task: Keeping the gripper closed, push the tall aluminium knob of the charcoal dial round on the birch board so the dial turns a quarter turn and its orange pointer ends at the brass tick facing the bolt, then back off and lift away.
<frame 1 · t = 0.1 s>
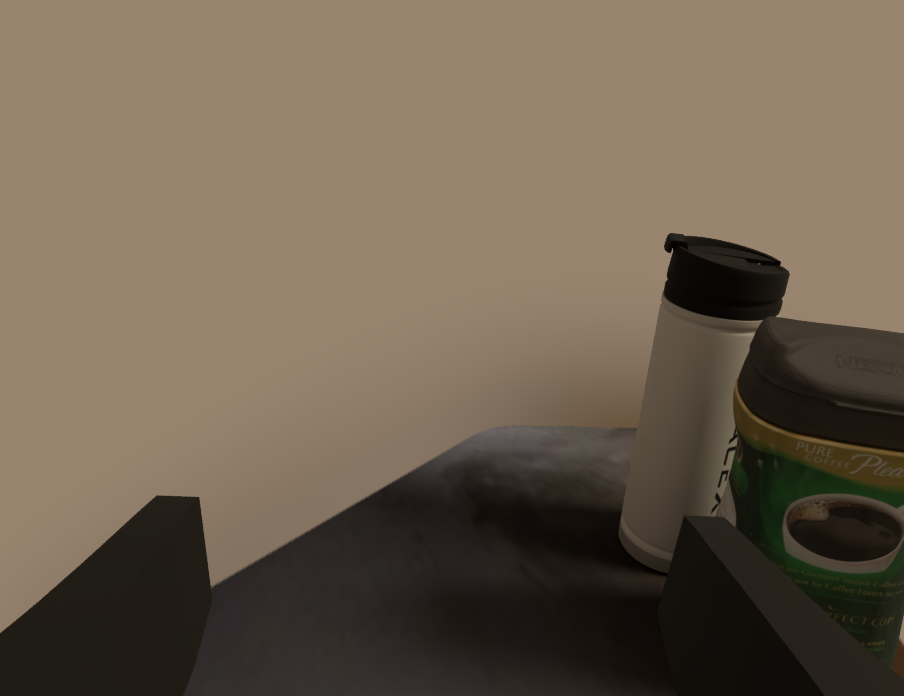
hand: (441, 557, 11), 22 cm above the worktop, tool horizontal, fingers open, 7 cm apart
travel mug: (663, 546, 46), on the worktop
coffee jar: (770, 658, 37), on the worktop
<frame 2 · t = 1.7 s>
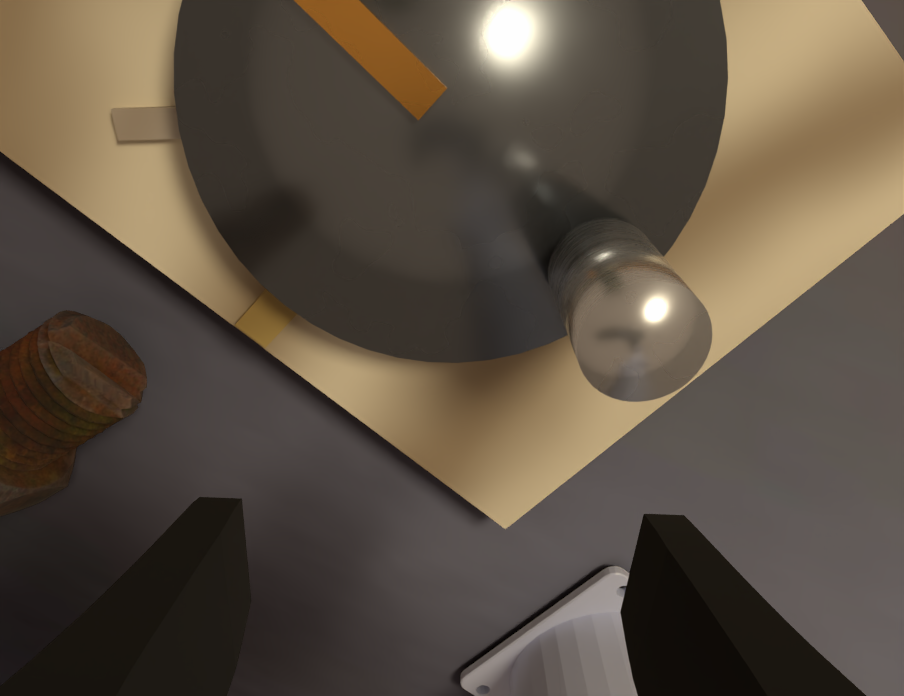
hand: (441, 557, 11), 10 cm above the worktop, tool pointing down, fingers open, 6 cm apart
dial: (459, 141, 14), point 4 cm above the worktop, hinge at 0.0°
board: (450, 106, 18), on the worktop
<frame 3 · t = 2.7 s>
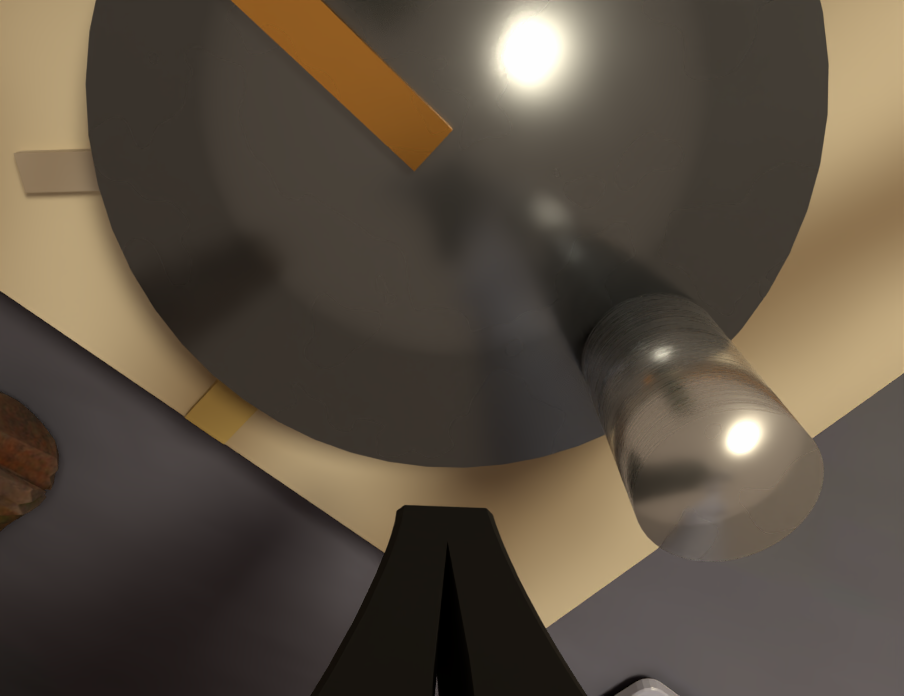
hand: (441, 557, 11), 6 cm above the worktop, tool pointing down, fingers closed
dial: (469, 205, 10), point 4 cm above the worktop, hinge at 0.0°
board: (456, 145, 14), on the worktop
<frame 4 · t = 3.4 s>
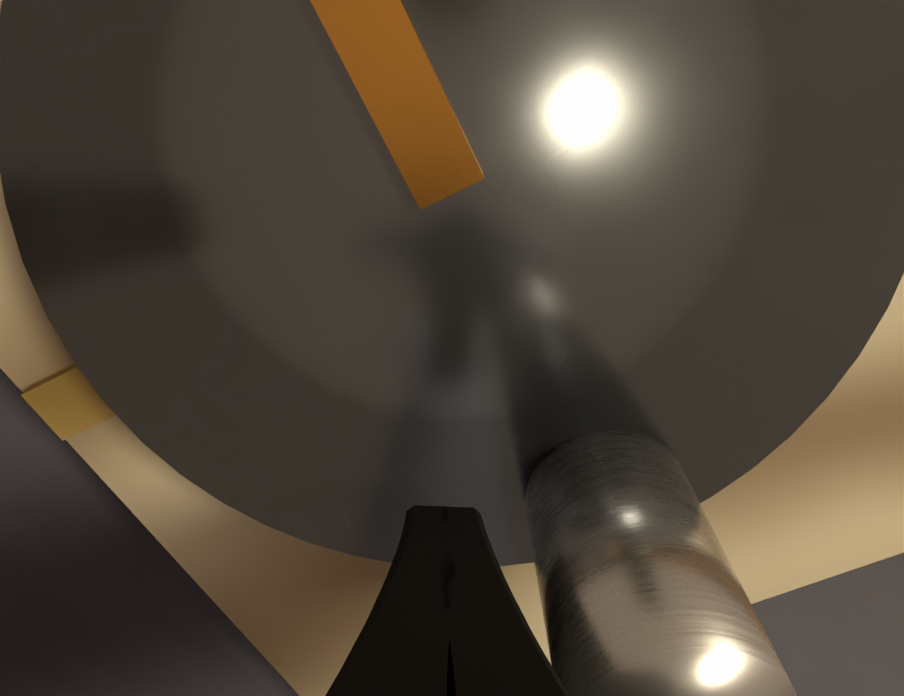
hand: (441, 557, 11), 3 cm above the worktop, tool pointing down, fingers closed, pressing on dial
dial: (483, 284, 8), point 4 cm above the worktop, hinge at 0.0°, touching gripper
board: (465, 184, 11), on the worktop
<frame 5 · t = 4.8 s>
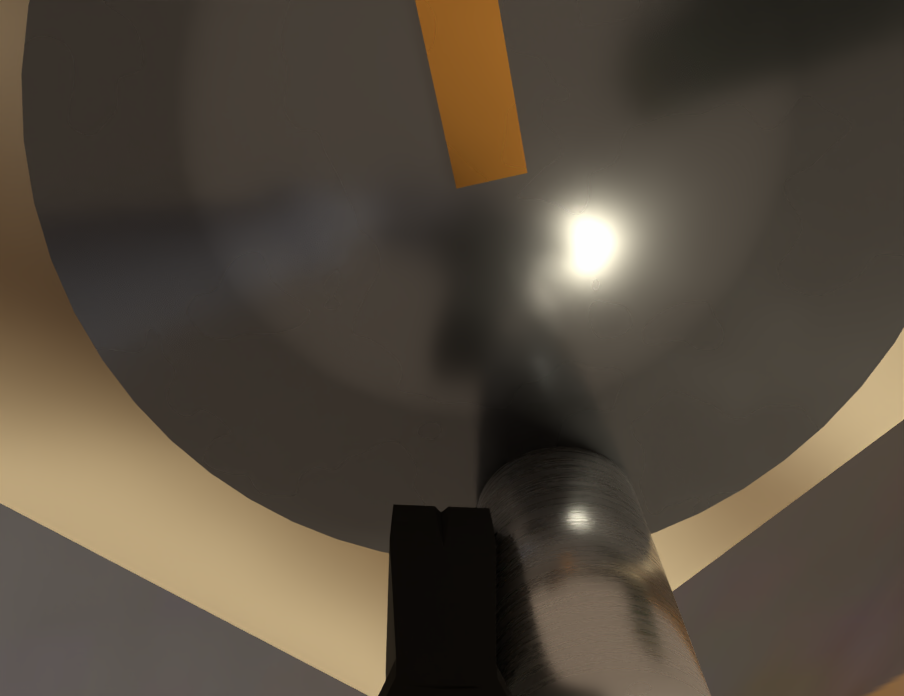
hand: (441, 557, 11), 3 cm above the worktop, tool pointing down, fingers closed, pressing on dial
dial: (511, 275, 8), point 4 cm above the worktop, hinge at 52.7°, touching gripper
board: (489, 176, 11), on the worktop
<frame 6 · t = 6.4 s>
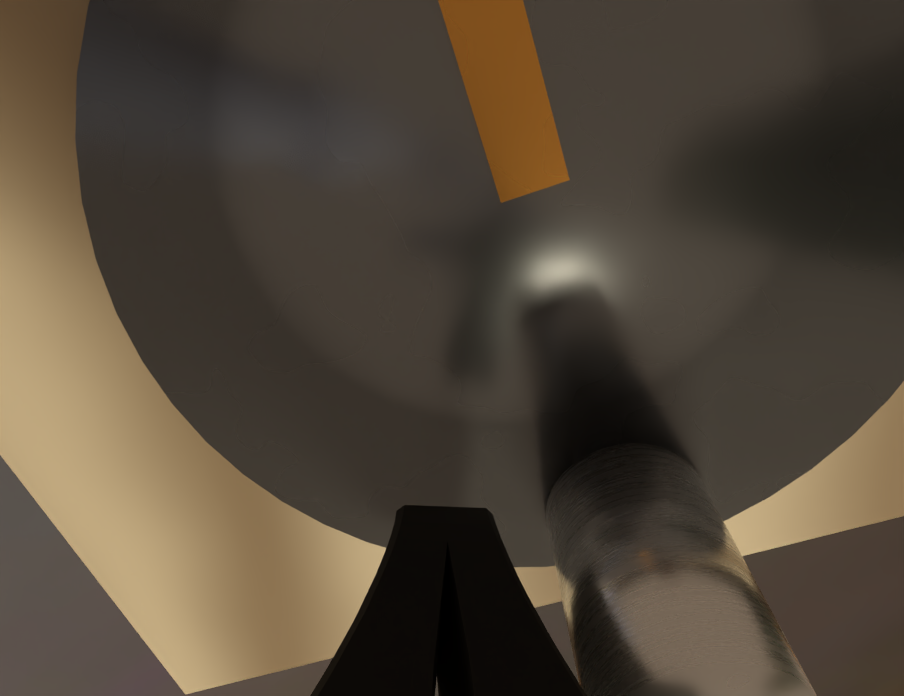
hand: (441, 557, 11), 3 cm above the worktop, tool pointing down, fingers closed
dial: (567, 284, 8), point 4 cm above the worktop, hinge at 90.3°
board: (525, 184, 11), on the worktop
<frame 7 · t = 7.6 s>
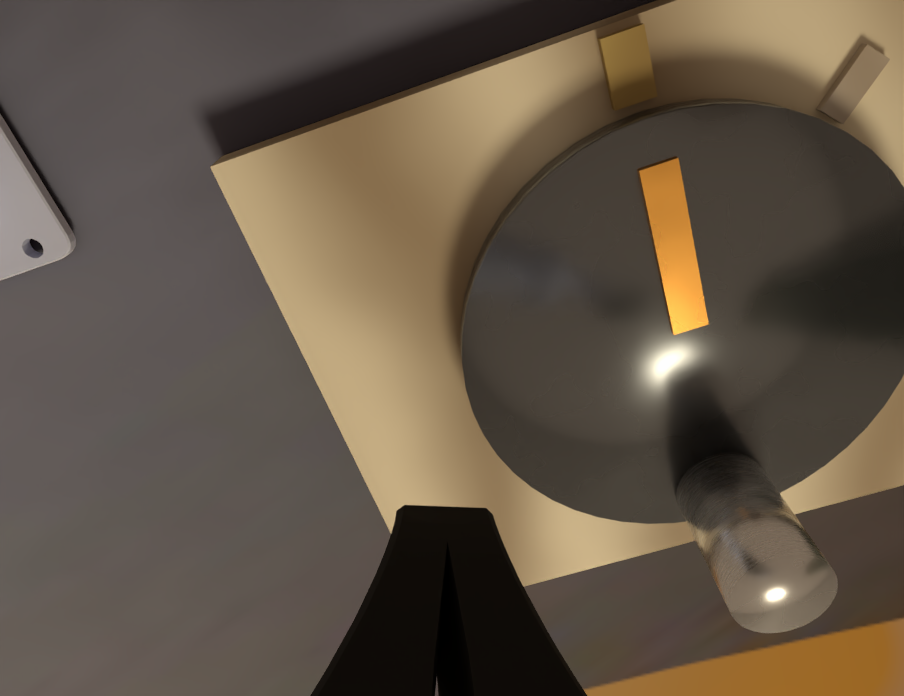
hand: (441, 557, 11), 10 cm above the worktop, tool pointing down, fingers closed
dial: (715, 380, 17), point 4 cm above the worktop, hinge at 90.3°
board: (664, 307, 20), on the worktop
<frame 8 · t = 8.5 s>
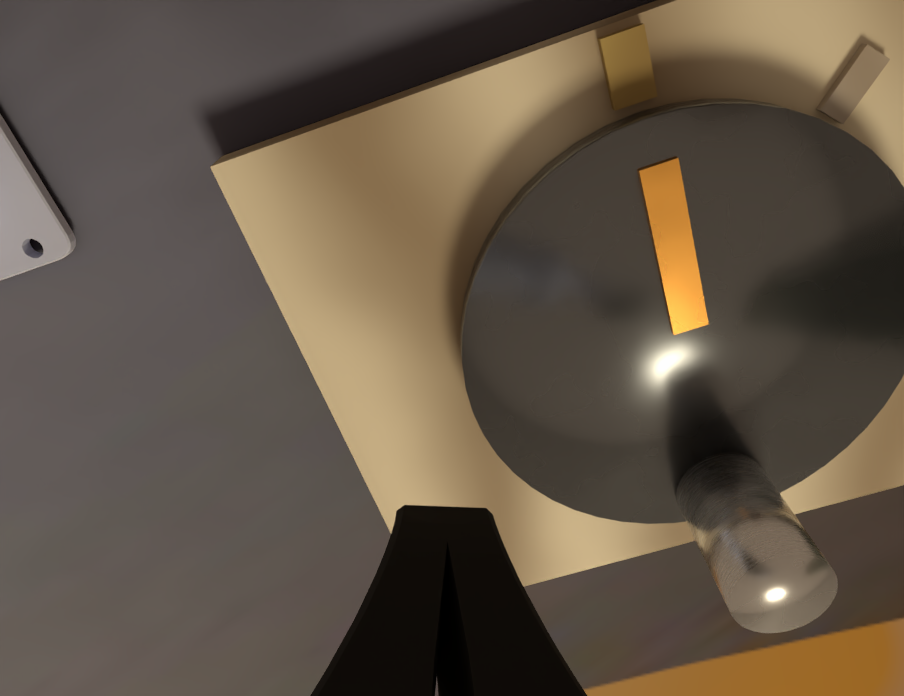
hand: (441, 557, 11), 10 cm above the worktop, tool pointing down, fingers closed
dial: (715, 380, 17), point 4 cm above the worktop, hinge at 90.3°
board: (664, 307, 20), on the worktop
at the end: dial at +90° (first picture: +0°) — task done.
